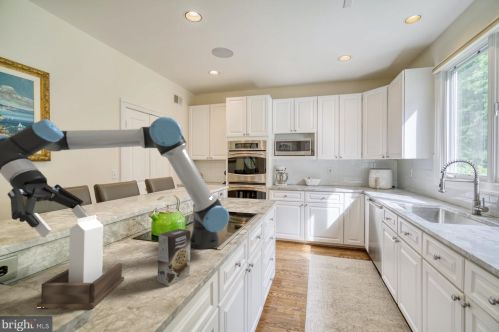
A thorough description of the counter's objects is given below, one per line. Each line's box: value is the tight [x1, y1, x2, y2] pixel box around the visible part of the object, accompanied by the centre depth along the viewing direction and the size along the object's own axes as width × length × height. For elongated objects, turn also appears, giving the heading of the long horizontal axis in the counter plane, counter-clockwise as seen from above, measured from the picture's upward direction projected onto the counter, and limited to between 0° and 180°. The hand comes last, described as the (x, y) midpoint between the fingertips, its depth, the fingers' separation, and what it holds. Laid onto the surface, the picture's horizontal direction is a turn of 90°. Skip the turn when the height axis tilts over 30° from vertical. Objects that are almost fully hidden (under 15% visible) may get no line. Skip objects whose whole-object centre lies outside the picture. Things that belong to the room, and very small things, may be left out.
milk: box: [68, 214, 104, 283], centre depth 66 cm, size 6×6×22 cm
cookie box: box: [157, 228, 192, 287], centre depth 75 cm, size 9×6×16 cm
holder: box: [36, 262, 125, 310], centre depth 66 cm, size 15×15×6 cm
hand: (69, 227), depth 66 cm, fingers open, 13 cm apart
